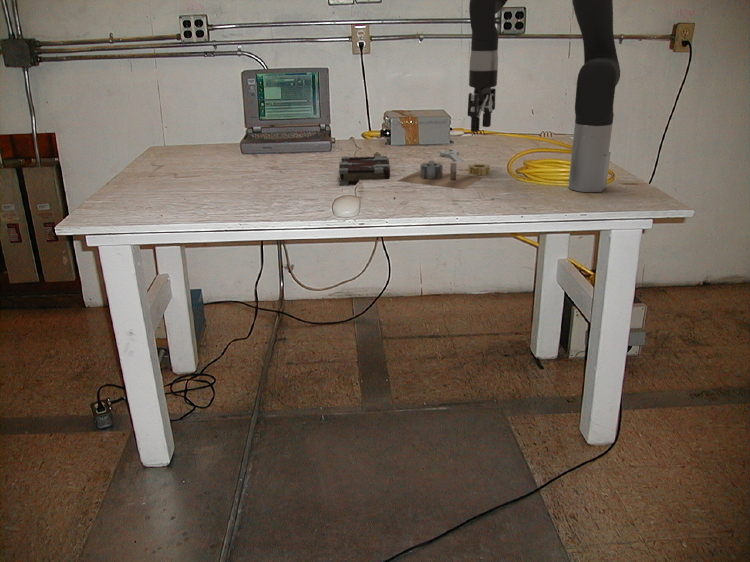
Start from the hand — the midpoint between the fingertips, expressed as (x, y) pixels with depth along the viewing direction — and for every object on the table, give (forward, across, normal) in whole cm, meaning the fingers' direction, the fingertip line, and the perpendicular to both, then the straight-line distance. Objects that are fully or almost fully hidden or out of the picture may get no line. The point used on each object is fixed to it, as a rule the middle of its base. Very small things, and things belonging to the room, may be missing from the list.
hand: (480, 129), depth 174 cm
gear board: (+14, -11, +7) cm, 19 cm away
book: (+15, -10, +32) cm, 37 cm away
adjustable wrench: (+15, +18, +16) cm, 28 cm away
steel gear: (+12, -10, +10) cm, 19 cm away
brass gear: (+14, 0, 0) cm, 14 cm away
